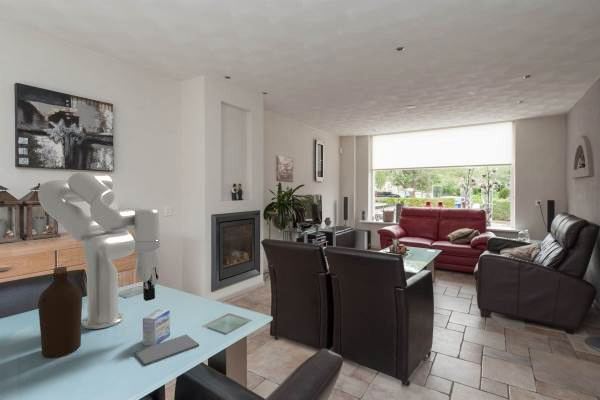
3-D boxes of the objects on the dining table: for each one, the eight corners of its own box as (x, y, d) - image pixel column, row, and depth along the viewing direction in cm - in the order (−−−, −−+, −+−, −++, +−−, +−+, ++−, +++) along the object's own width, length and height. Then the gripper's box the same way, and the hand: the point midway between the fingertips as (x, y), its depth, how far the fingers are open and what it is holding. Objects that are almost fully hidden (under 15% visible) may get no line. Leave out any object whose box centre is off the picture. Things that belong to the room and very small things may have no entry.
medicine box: (155, 346, 99) (154, 319, 98) (142, 345, 100) (142, 317, 99) (170, 335, 106) (170, 309, 106) (158, 333, 107) (158, 308, 107)
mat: (134, 353, 95) (134, 351, 95) (186, 336, 106) (186, 334, 106) (144, 365, 88) (144, 363, 88) (199, 346, 99) (199, 344, 99)
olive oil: (75, 356, 93) (73, 271, 92) (31, 361, 90) (29, 273, 89) (88, 339, 103) (86, 262, 102) (49, 343, 100) (47, 264, 99)
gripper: (128, 244, 110) (130, 297, 111) (143, 250, 99) (145, 308, 100) (151, 241, 115) (152, 292, 116) (167, 246, 105) (169, 301, 105)
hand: (149, 299), depth 108 cm, fingers closed
